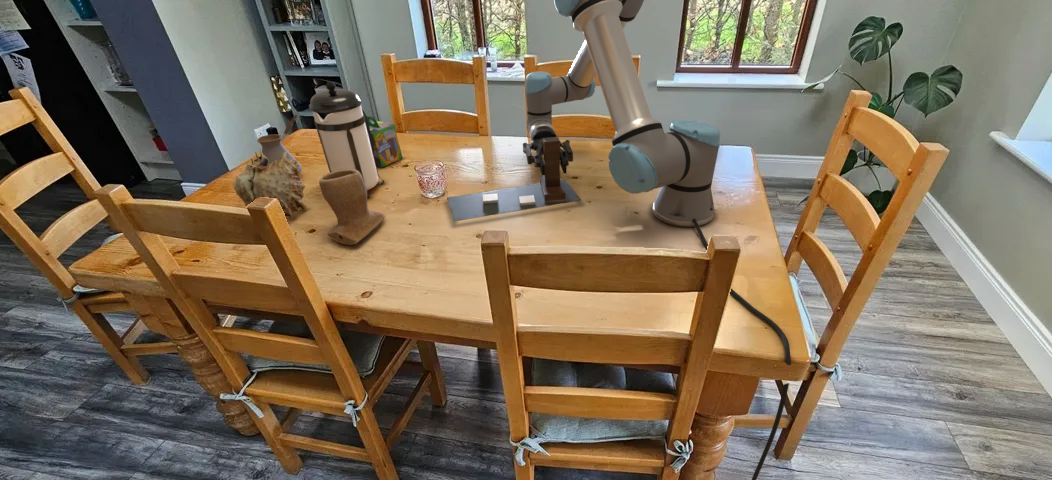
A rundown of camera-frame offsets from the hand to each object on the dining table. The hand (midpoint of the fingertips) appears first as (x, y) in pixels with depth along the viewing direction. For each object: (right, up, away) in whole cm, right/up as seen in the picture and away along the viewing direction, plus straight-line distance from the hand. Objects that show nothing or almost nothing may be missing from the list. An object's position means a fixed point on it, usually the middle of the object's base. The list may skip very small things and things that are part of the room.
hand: (554, 169), depth 124 cm
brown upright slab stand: (0, -4, +9) cm, 10 cm away
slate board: (-11, -8, +8) cm, 15 cm away
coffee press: (-57, -2, +18) cm, 59 cm away
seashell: (-73, -11, +6) cm, 74 cm away
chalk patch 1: (-17, -7, +7) cm, 20 cm away
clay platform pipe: (-50, -16, -2) cm, 52 cm away
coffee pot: (-81, +5, +28) cm, 86 cm away
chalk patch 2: (-7, -7, +5) cm, 12 cm away
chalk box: (-56, +10, +34) cm, 66 cm away
